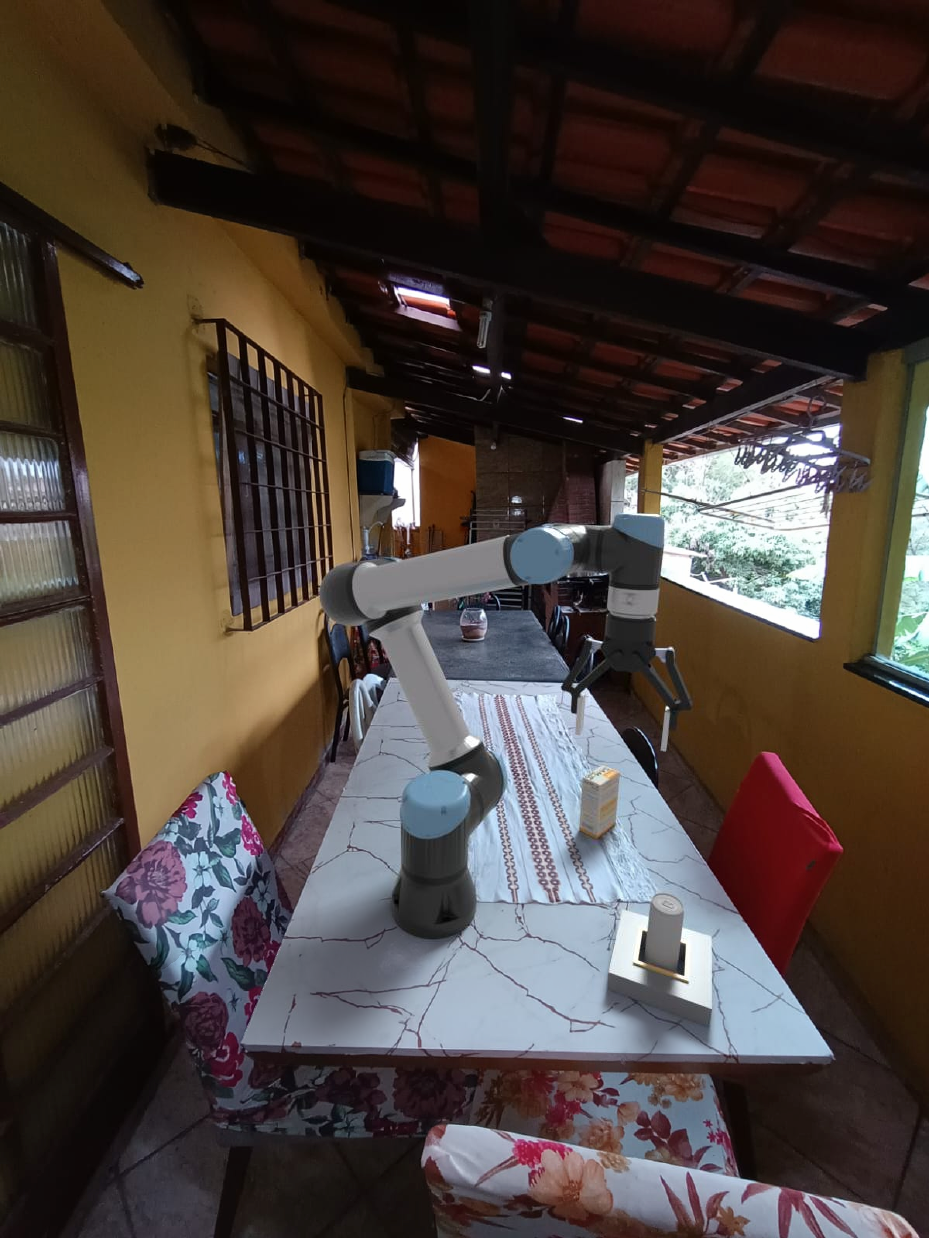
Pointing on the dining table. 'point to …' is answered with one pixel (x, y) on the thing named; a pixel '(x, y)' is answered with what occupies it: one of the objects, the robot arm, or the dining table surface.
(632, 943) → the socket plate
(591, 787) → the supplement box
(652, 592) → the robot arm
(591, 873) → the dining table surface
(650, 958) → the beverage can
